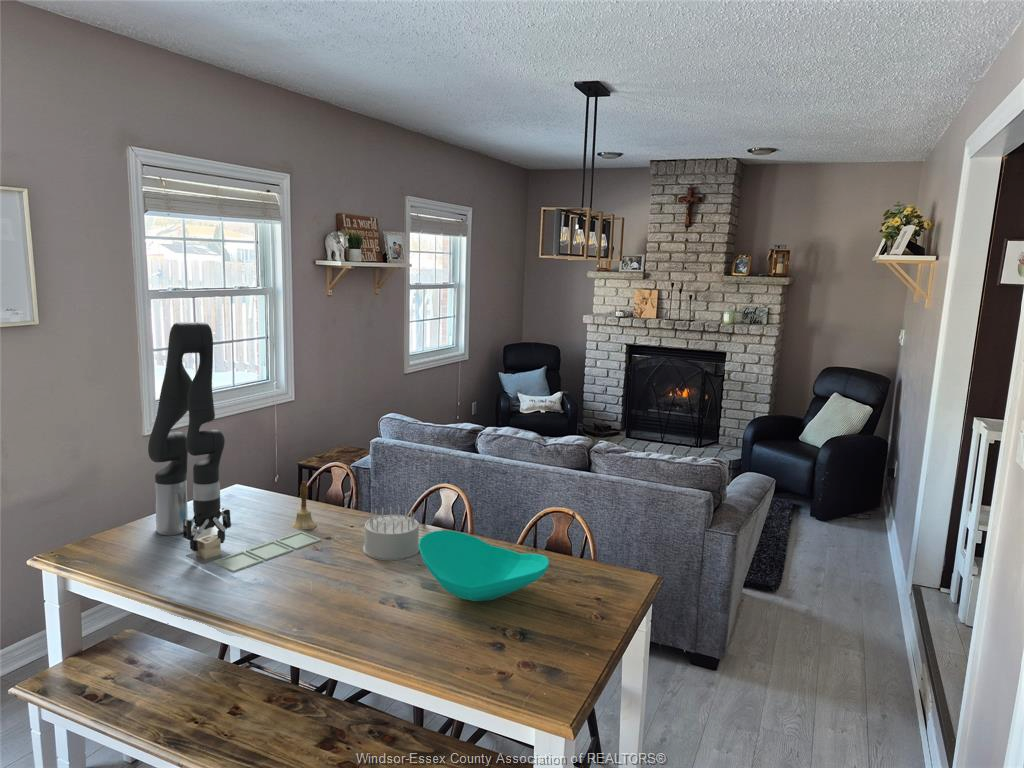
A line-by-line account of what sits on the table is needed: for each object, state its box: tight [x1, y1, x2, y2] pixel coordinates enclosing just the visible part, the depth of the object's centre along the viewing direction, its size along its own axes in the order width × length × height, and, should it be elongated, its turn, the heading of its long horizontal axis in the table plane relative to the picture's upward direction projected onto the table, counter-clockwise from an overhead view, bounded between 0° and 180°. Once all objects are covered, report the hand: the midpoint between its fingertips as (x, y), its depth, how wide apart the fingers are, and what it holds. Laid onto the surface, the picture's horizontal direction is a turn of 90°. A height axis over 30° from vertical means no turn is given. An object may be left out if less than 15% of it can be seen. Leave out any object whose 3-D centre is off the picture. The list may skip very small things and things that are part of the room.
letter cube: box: [196, 535, 222, 559], centre depth 215 cm, size 5×5×5 cm
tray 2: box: [245, 540, 294, 561], centre depth 221 cm, size 10×10×1 cm
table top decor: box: [418, 529, 550, 602], centre depth 198 cm, size 40×28×13 cm
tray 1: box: [212, 550, 264, 573], centre depth 212 cm, size 10×10×1 cm
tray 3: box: [275, 531, 322, 551], centre depth 230 cm, size 10×10×1 cm
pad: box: [185, 549, 231, 565], centre depth 216 cm, size 9×9×1 cm
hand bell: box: [291, 480, 317, 530], centre depth 242 cm, size 8×8×16 cm
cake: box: [362, 506, 420, 562], centre depth 227 cm, size 18×18×13 cm
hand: (207, 546), depth 215 cm, fingers open, 8 cm apart
